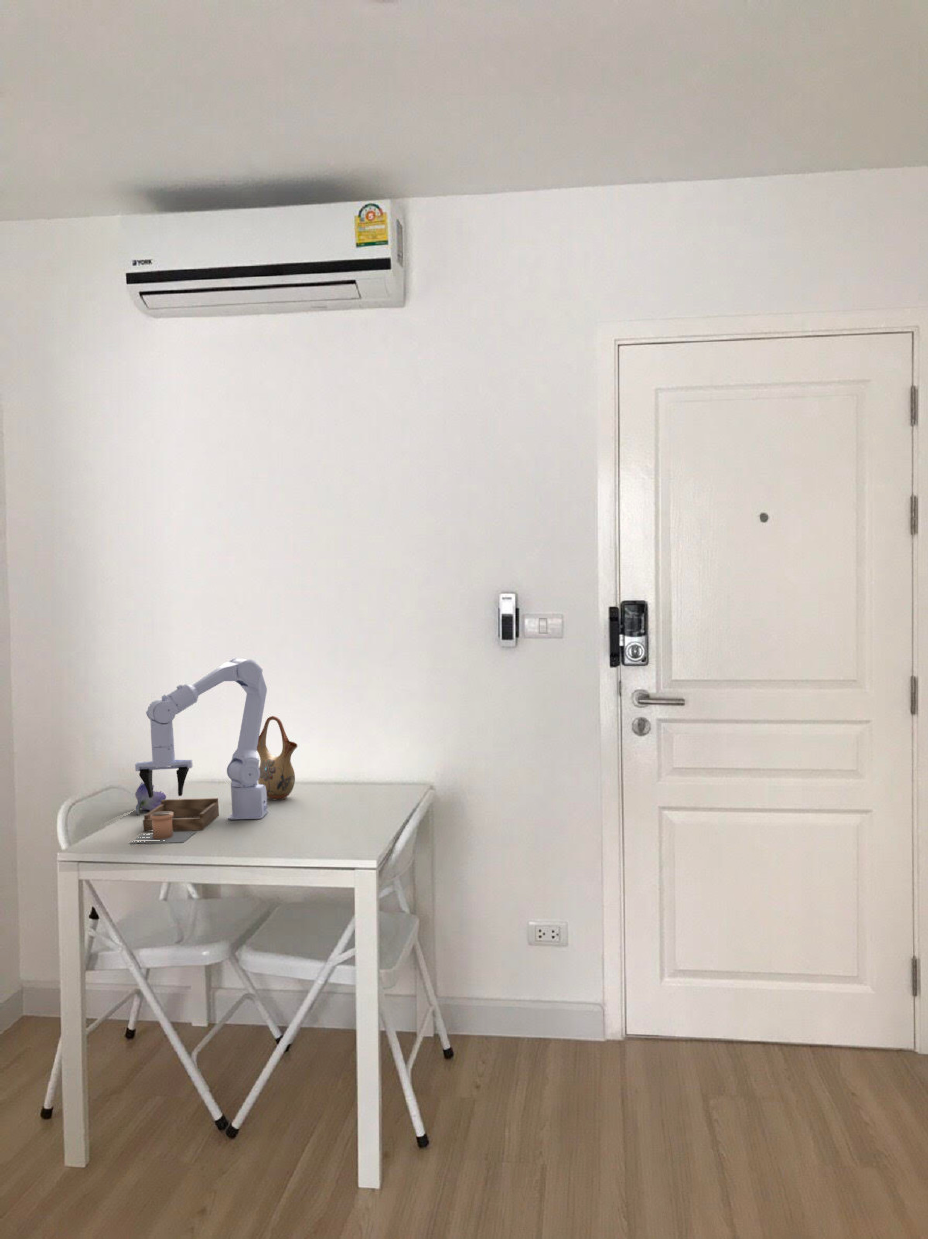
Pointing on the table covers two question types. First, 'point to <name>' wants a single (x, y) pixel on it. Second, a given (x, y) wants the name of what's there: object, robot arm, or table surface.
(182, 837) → the slate mat
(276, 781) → the ceramic vessel
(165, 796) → the flower
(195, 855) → the table surface
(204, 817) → the frame
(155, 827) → the terracotta pot
